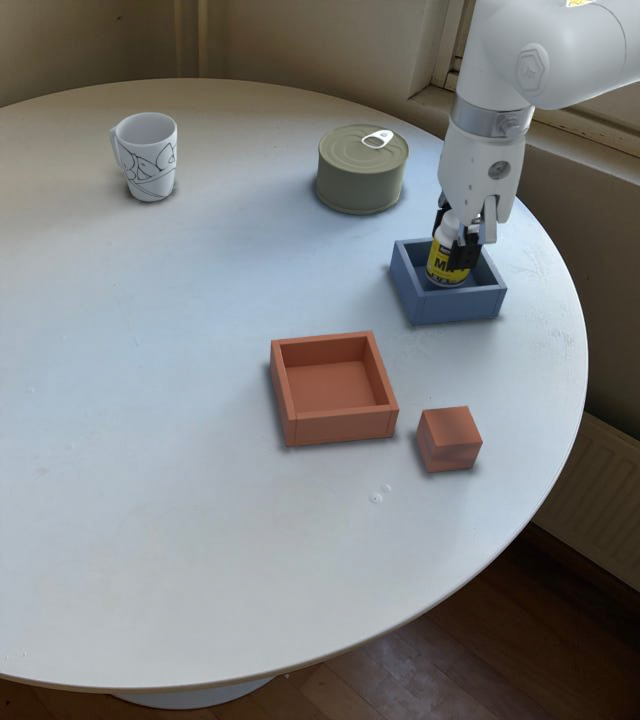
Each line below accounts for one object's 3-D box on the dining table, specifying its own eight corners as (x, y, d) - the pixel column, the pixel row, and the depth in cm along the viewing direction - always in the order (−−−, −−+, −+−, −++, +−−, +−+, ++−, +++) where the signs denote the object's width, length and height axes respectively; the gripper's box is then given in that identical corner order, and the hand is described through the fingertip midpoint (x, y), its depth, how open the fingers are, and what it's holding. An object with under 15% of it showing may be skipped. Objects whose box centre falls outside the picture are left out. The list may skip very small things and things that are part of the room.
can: (296, 190, 109) (299, 148, 104) (351, 155, 114) (357, 113, 109) (364, 227, 102) (371, 184, 97) (419, 188, 107) (428, 145, 102)
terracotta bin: (366, 358, 87) (372, 330, 84) (392, 436, 80) (400, 409, 76) (269, 367, 87) (270, 339, 84) (286, 446, 80) (288, 420, 76)
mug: (96, 185, 113) (87, 125, 106) (135, 159, 117) (129, 99, 110) (153, 214, 108) (147, 152, 100) (192, 185, 112) (189, 124, 104)
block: (457, 432, 79) (467, 405, 76) (472, 468, 76) (483, 442, 73) (414, 436, 79) (422, 409, 76) (427, 472, 76) (436, 446, 73)
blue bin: (469, 261, 97) (477, 232, 93) (497, 317, 90) (508, 288, 86) (389, 268, 97) (394, 240, 93) (411, 325, 90) (418, 297, 87)
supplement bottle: (424, 286, 90) (438, 229, 84) (425, 260, 93) (438, 203, 87) (467, 291, 89) (484, 234, 83) (466, 264, 92) (483, 207, 86)
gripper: (566, 153, 69) (512, 299, 83) (499, 63, 81) (461, 205, 94) (483, 161, 69) (443, 306, 83) (427, 70, 81) (400, 210, 94)
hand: (453, 250), depth 88 cm, fingers closed on supplement bottle, 4 cm apart
